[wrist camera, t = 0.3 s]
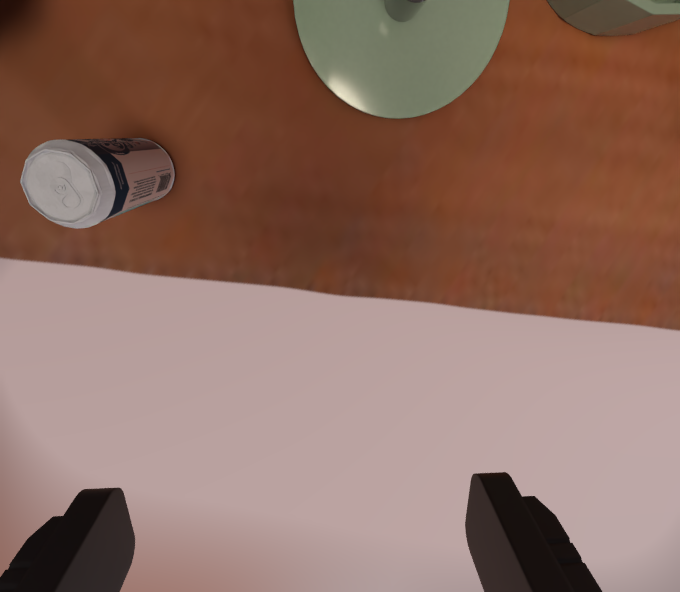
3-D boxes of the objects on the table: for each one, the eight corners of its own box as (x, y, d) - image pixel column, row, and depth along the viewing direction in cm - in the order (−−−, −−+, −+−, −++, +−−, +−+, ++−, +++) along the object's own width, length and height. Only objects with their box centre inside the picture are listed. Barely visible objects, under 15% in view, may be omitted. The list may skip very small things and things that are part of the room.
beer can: (153, 126, 33) (66, 122, 21) (188, 183, 34) (124, 207, 23) (101, 156, 33) (-9, 167, 22) (139, 210, 35) (53, 246, 24)
